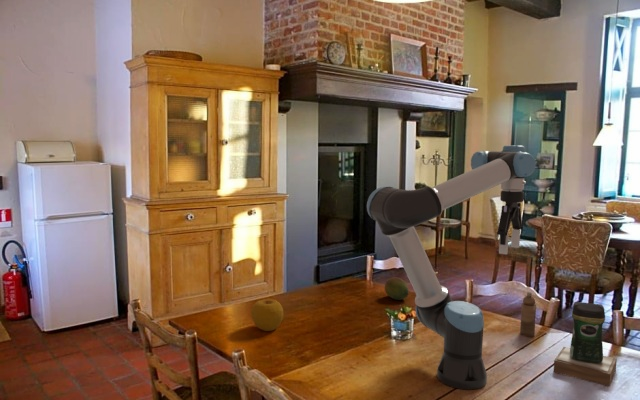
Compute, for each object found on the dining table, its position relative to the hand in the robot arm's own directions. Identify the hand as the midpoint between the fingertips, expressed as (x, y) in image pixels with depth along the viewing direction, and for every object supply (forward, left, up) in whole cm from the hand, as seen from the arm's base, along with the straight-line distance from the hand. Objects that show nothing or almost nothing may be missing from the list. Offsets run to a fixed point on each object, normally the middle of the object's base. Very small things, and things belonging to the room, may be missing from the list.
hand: (509, 250), depth 177 cm
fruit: (+31, +60, -37) cm, 77 cm away
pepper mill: (+22, -2, -37) cm, 43 cm away
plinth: (0, -26, -37) cm, 45 cm away
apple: (-36, +82, -37) cm, 97 cm away
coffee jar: (0, -26, -33) cm, 42 cm away
